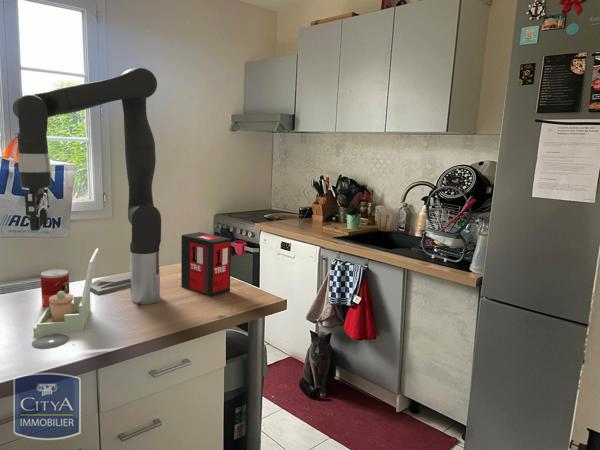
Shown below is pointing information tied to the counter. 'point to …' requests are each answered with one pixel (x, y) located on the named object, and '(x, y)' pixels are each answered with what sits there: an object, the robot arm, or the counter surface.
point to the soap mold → (111, 284)
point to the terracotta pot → (60, 306)
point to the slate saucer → (50, 341)
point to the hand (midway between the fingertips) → (39, 227)
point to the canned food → (53, 284)
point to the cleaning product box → (205, 263)
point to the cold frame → (65, 318)
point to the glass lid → (89, 275)
